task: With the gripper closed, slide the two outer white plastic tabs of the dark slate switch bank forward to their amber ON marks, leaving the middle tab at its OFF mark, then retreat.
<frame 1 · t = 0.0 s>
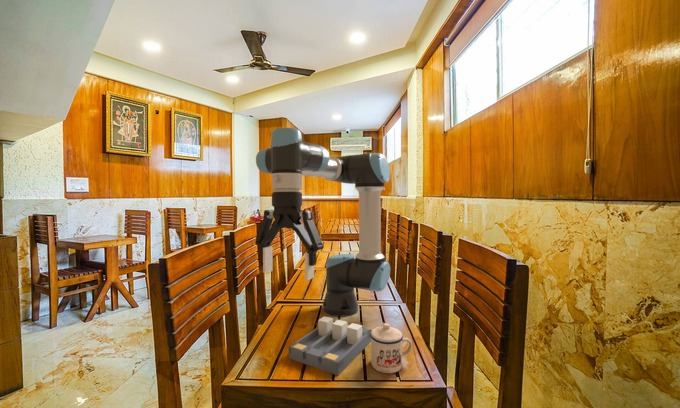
hand: (287, 275, 74), 28 cm above the table, fingers open, 13 cm apart
tab b: (339, 330, 95), point 4 cm above the table, slide at 0.0 cm
teacup with lid: (391, 365, 83), on the table
switch bank: (332, 348, 92), on the table
tab c: (354, 334, 93), point 4 cm above the table, slide at 0.0 cm
tab a: (325, 326, 98), point 4 cm above the table, slide at 0.0 cm
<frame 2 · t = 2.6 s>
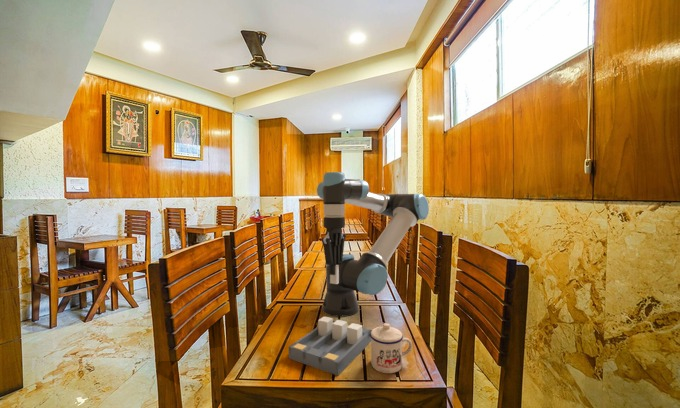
hand: (334, 283, 103), 17 cm above the table, fingers closed
nothing on the table moved.
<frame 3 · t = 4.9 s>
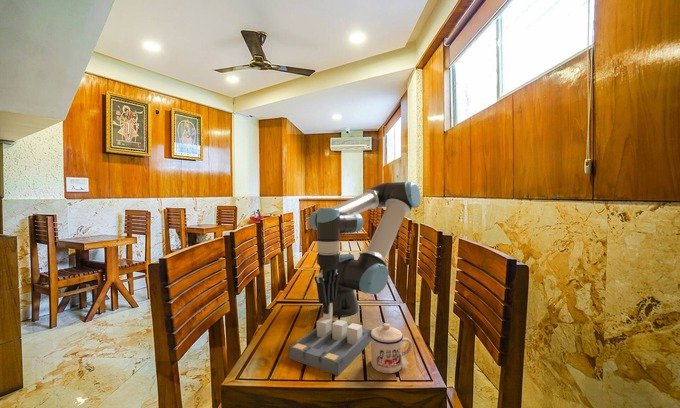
hand: (327, 321, 100), 5 cm above the table, fingers closed
tab a: (324, 327, 97), point 4 cm above the table, slide at 1.0 cm, touching gripper
everything else where it was.
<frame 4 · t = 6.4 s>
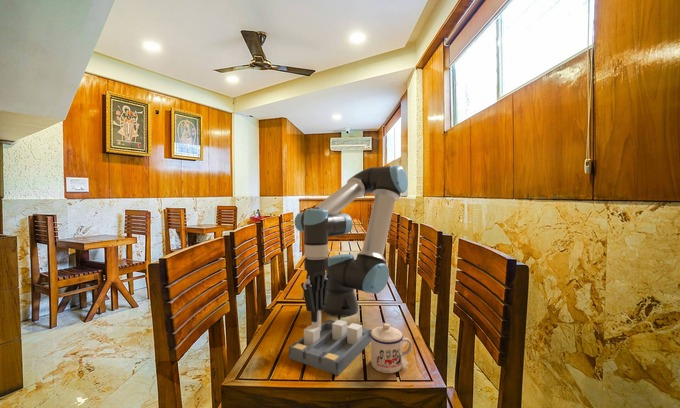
hand: (316, 330, 93), 5 cm above the table, fingers closed
tab a: (312, 336, 91), point 4 cm above the table, slide at 7.9 cm, touching gripper
everything else where it was.
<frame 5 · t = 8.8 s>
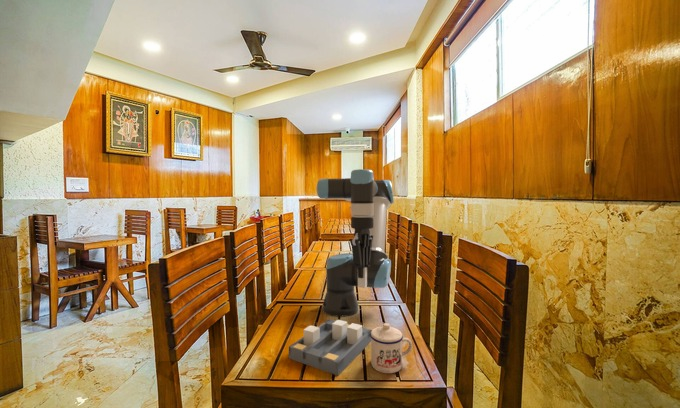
hand: (362, 286, 97), 18 cm above the table, fingers closed
tab a: (311, 336, 91), point 4 cm above the table, slide at 8.0 cm
everything else where it was.
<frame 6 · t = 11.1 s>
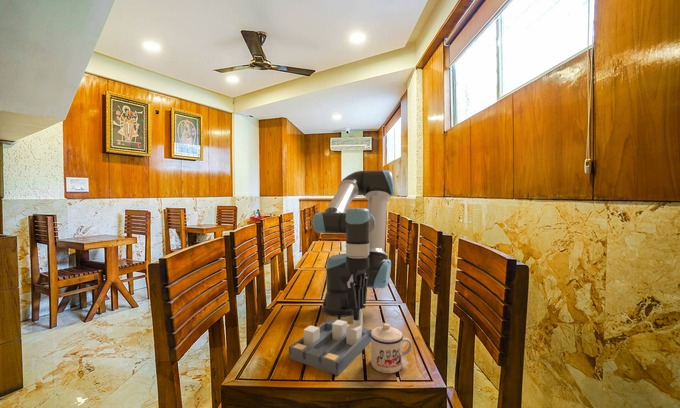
hand: (357, 328, 94), 5 cm above the table, fingers closed
tab c: (354, 334, 92), point 4 cm above the table, slide at 0.6 cm, touching gripper
everything else where it was.
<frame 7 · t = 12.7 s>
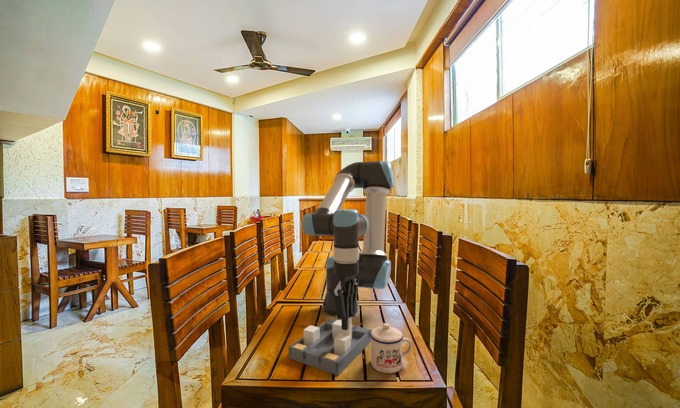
hand: (346, 338, 88), 5 cm above the table, fingers closed
tab c: (342, 345, 86), point 4 cm above the table, slide at 7.9 cm, touching gripper
everything else where it was.
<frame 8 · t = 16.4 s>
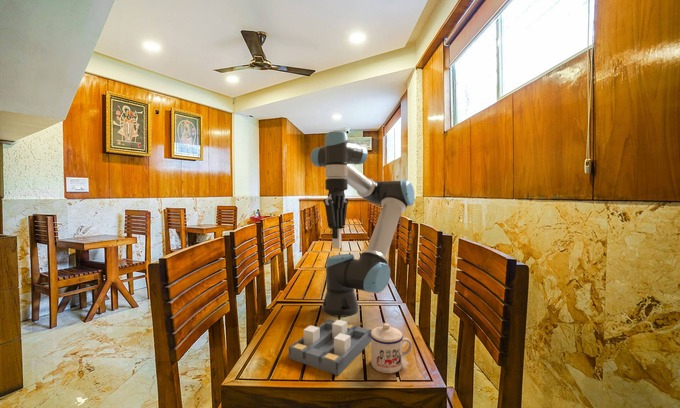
hand: (336, 247, 99), 30 cm above the table, fingers closed
tab c: (342, 345, 86), point 4 cm above the table, slide at 8.0 cm
everything else where it was.
at the end: tab a slide at 8.0 cm; tab c slide at 8.0 cm; tab b slide at 0.0 cm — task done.
